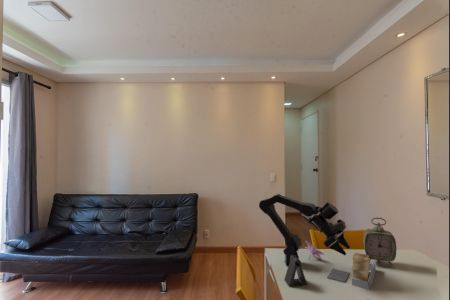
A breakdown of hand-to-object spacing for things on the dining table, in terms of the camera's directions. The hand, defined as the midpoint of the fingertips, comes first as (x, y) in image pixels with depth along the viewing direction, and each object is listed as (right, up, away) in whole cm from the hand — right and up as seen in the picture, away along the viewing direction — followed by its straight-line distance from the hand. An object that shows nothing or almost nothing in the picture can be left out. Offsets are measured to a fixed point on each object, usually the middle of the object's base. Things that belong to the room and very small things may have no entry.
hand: (347, 251), depth 126 cm
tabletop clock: (+24, -13, +15) cm, 31 cm away
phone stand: (-26, -14, -4) cm, 30 cm away
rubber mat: (-3, -13, +3) cm, 14 cm away
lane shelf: (+9, -13, +1) cm, 15 cm away
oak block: (+5, -13, -3) cm, 14 cm away
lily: (-9, -13, +22) cm, 27 cm away
